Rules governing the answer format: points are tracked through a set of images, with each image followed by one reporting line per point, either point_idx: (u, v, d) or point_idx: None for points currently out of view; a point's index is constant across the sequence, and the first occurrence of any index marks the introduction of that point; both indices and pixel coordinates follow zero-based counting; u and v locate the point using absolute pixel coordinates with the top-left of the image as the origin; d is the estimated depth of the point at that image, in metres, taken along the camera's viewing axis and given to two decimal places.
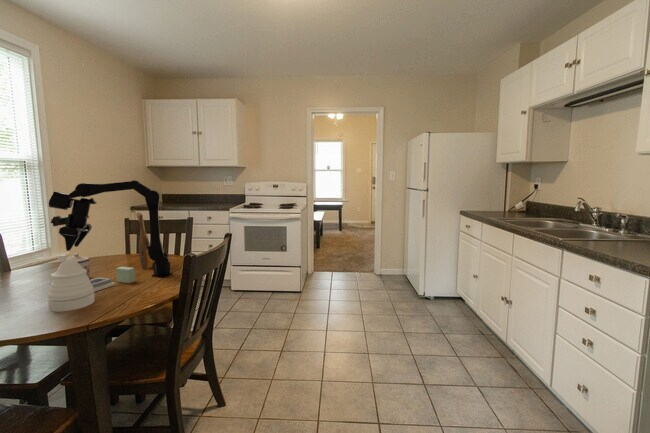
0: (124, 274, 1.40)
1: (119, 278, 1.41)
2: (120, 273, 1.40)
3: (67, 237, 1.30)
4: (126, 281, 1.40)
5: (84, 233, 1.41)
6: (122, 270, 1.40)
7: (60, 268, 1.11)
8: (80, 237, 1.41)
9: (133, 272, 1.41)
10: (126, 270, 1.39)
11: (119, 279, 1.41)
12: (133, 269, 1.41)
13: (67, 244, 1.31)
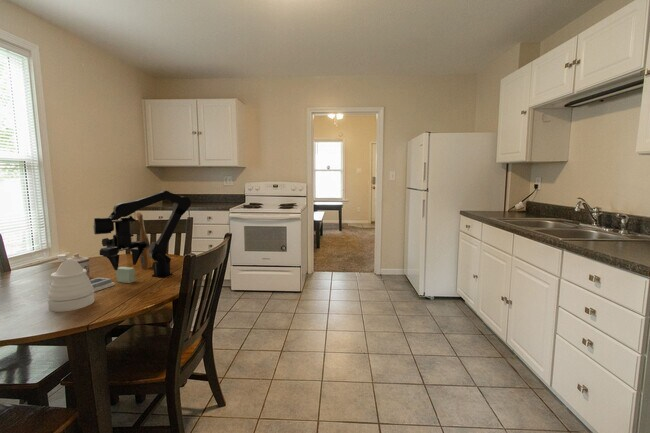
0: (124, 274, 1.40)
1: (119, 278, 1.41)
2: (120, 273, 1.40)
3: (110, 257, 1.35)
4: (126, 281, 1.40)
5: (137, 251, 1.45)
6: (122, 270, 1.40)
7: (60, 268, 1.11)
8: (135, 255, 1.45)
9: (133, 272, 1.41)
10: (126, 270, 1.39)
11: (119, 279, 1.41)
12: (133, 269, 1.41)
13: (112, 264, 1.36)
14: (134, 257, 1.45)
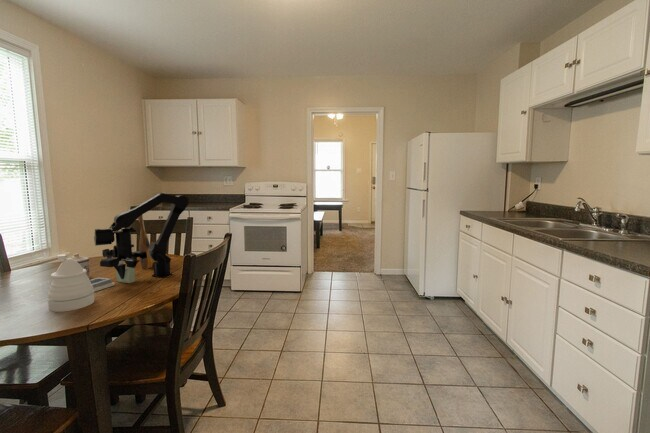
0: None
1: (119, 278, 1.41)
2: None
3: (117, 267, 1.38)
4: (126, 281, 1.40)
5: (132, 263, 1.43)
6: None
7: (60, 268, 1.11)
8: (130, 267, 1.43)
9: (133, 272, 1.41)
10: (126, 270, 1.39)
11: (119, 279, 1.41)
12: (133, 269, 1.41)
13: (119, 273, 1.39)
14: None
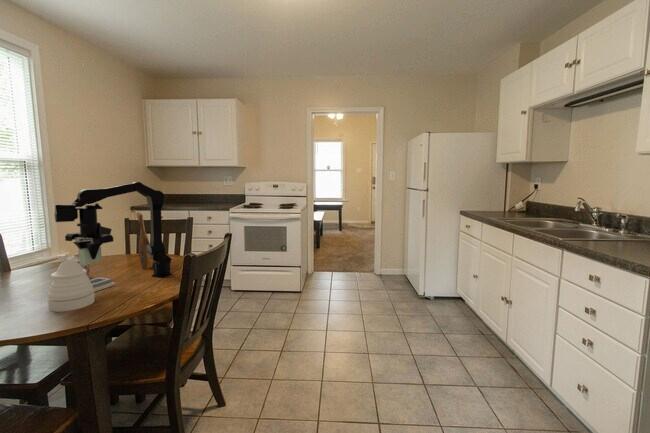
0: None
1: None
2: None
3: None
4: None
5: None
6: None
7: (60, 268, 1.11)
8: None
9: (83, 254, 1.27)
10: None
11: None
12: (83, 251, 1.27)
13: None
14: None
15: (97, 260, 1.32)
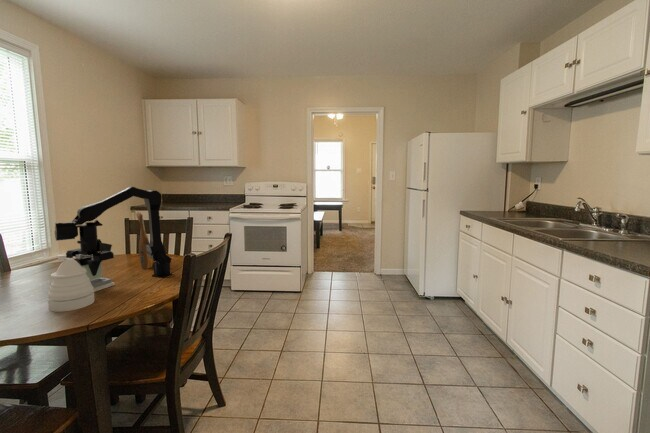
0: None
1: None
2: None
3: None
4: None
5: None
6: None
7: (60, 268, 1.11)
8: None
9: None
10: None
11: None
12: (84, 268, 1.28)
13: None
14: None
15: (98, 276, 1.33)
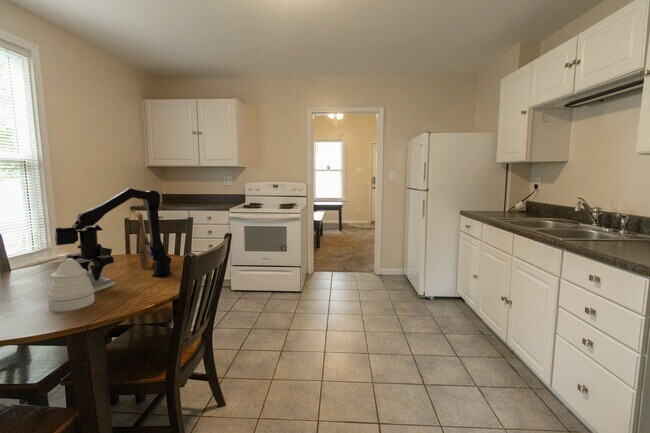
0: None
1: None
2: None
3: None
4: None
5: None
6: None
7: (60, 268, 1.11)
8: None
9: None
10: None
11: None
12: None
13: None
14: None
15: None
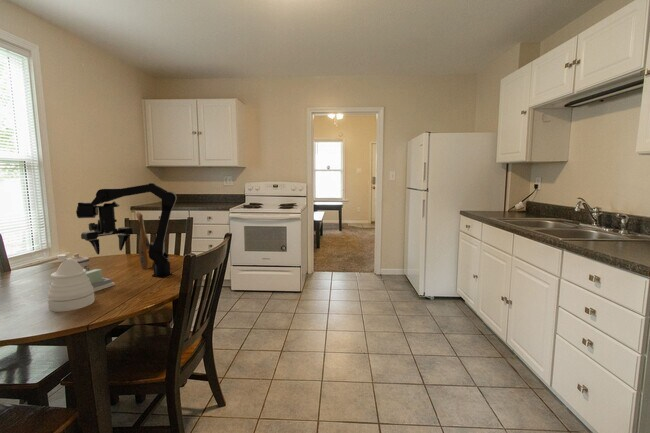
0: None
1: None
2: None
3: (92, 242, 1.38)
4: None
5: (122, 237, 1.46)
6: None
7: (60, 268, 1.11)
8: (121, 241, 1.46)
9: None
10: None
11: None
12: None
13: (94, 248, 1.38)
14: (120, 243, 1.47)
15: None
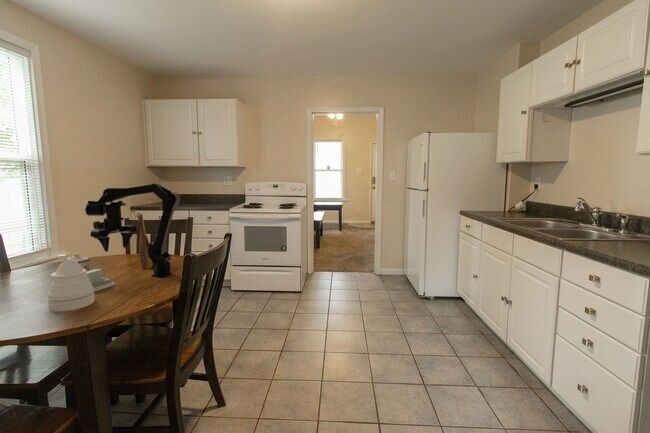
0: None
1: None
2: None
3: (101, 239, 1.41)
4: None
5: (127, 234, 1.51)
6: None
7: (60, 268, 1.11)
8: (125, 239, 1.51)
9: None
10: None
11: None
12: None
13: (103, 246, 1.42)
14: (124, 240, 1.52)
15: None
